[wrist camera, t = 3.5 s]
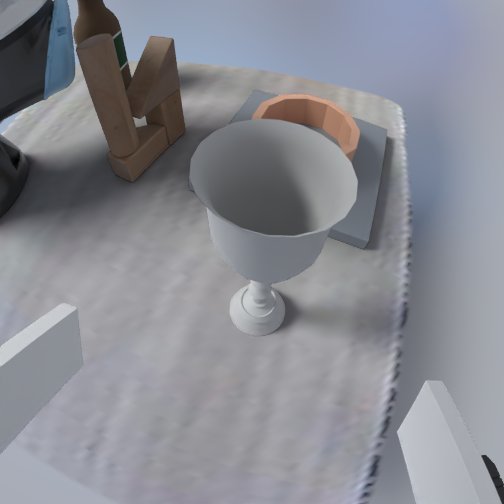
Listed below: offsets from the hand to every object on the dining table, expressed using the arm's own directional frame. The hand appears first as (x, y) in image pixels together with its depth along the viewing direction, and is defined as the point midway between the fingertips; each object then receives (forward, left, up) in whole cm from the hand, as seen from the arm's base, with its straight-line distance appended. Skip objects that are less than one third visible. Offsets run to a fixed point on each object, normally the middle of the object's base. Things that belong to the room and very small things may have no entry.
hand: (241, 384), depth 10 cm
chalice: (-2, +8, -17) cm, 19 cm away
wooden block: (-22, +22, -17) cm, 36 cm away
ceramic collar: (-4, +28, -15) cm, 32 cm away
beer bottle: (-39, +34, -17) cm, 55 cm away
